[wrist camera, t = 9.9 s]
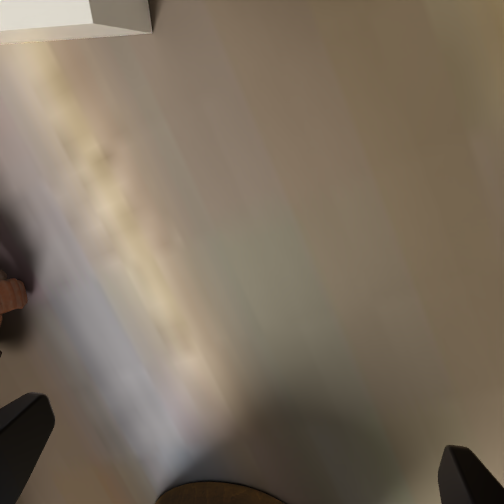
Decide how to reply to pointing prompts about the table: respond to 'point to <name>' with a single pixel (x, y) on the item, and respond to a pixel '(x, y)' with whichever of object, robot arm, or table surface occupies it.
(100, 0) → the white square tube
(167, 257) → the table surface
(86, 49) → the table surface
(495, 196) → the table surface
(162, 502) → the wooden container
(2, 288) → the brown rounded hollow piece
